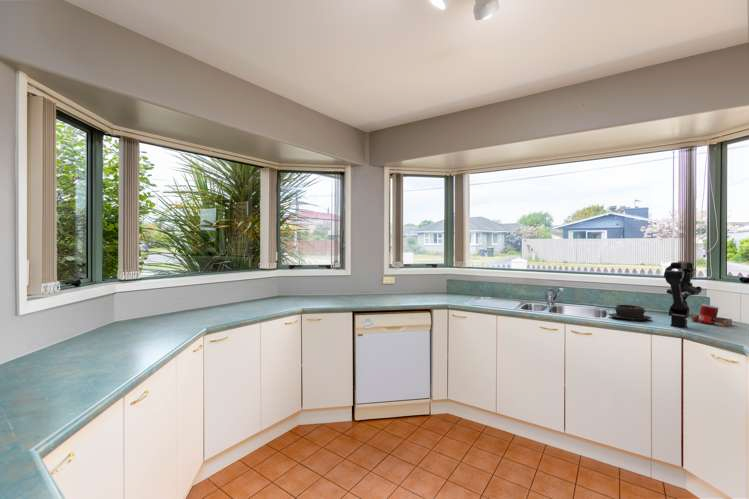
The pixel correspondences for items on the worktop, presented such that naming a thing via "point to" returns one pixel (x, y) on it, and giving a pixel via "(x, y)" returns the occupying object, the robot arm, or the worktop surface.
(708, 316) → the canned food
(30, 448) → the worktop surface
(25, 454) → the worktop surface
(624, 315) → the casserole
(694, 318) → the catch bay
